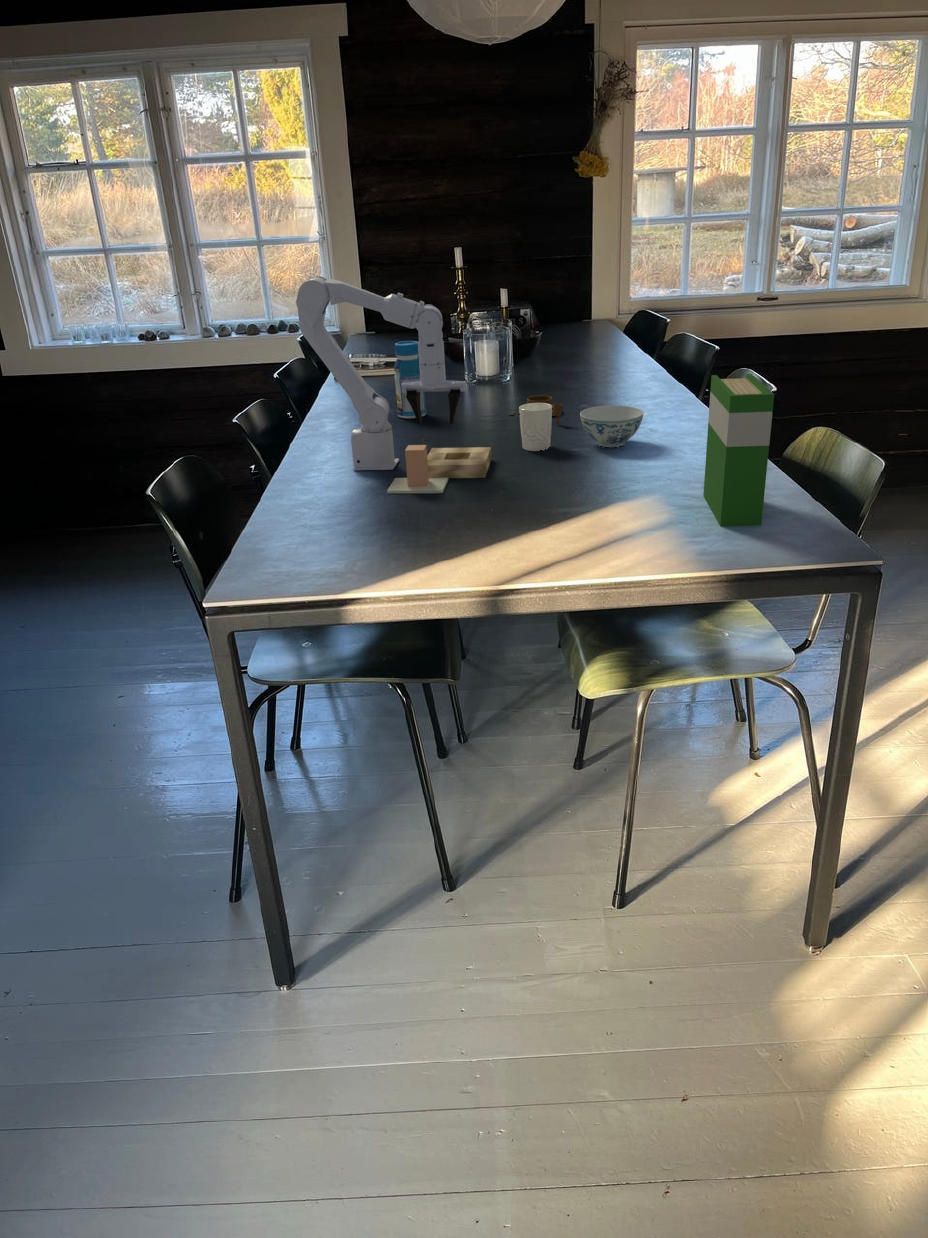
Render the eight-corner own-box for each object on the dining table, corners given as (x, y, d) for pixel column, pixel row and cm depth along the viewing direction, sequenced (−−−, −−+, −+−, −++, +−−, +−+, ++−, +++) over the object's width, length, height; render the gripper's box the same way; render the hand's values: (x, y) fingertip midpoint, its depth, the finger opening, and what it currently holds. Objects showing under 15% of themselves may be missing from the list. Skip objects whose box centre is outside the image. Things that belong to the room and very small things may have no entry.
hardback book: (703, 495, 184) (711, 375, 174) (740, 494, 184) (751, 373, 173) (720, 526, 168) (730, 395, 158) (761, 525, 168) (774, 394, 157)
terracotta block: (407, 486, 197) (404, 450, 194) (411, 480, 201) (408, 445, 197) (426, 486, 197) (423, 449, 193) (428, 480, 200) (426, 444, 197)
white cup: (526, 453, 218) (525, 411, 214) (515, 445, 225) (514, 404, 220) (557, 449, 220) (557, 408, 215) (545, 441, 227) (545, 401, 222)
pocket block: (422, 478, 204) (422, 465, 203) (432, 460, 217) (431, 447, 215) (485, 477, 202) (484, 464, 201) (491, 459, 215) (490, 447, 213)
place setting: (575, 410, 257) (575, 389, 254) (564, 428, 239) (564, 406, 237) (514, 410, 261) (513, 389, 258) (499, 427, 244) (498, 405, 241)
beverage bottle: (414, 420, 253) (408, 346, 244) (391, 417, 258) (384, 344, 249) (433, 413, 259) (428, 341, 250) (410, 410, 264) (405, 339, 255)
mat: (387, 493, 196) (386, 490, 195) (395, 480, 204) (395, 477, 203) (442, 493, 194) (442, 490, 194) (448, 480, 202) (448, 477, 202)
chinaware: (641, 453, 214) (642, 420, 210) (577, 452, 217) (577, 420, 213) (643, 436, 227) (644, 405, 223) (582, 436, 230) (582, 405, 226)
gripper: (396, 366, 202) (401, 427, 208) (461, 365, 200) (464, 426, 206) (403, 360, 208) (407, 420, 214) (466, 359, 206) (469, 419, 212)
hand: (435, 422), depth 210 cm, fingers open, 7 cm apart
